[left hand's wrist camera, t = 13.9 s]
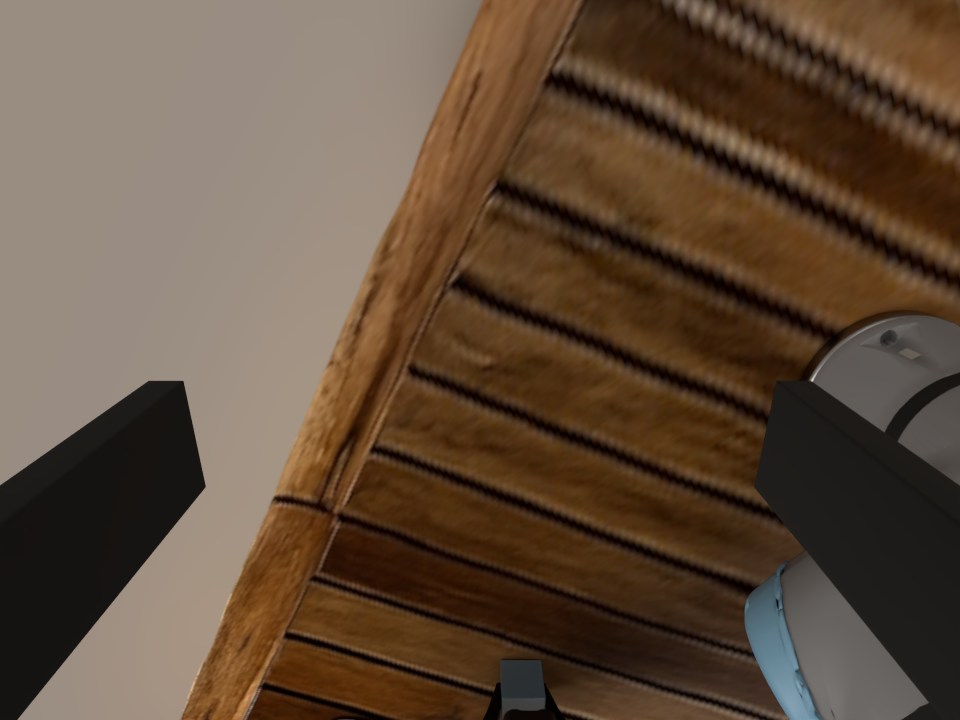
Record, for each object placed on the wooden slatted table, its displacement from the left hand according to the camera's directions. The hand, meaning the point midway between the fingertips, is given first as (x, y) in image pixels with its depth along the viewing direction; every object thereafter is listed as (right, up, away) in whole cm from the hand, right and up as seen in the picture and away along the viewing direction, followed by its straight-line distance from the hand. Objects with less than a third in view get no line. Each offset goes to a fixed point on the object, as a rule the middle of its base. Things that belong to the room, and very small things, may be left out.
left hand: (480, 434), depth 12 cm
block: (+4, -34, +49) cm, 60 cm away
